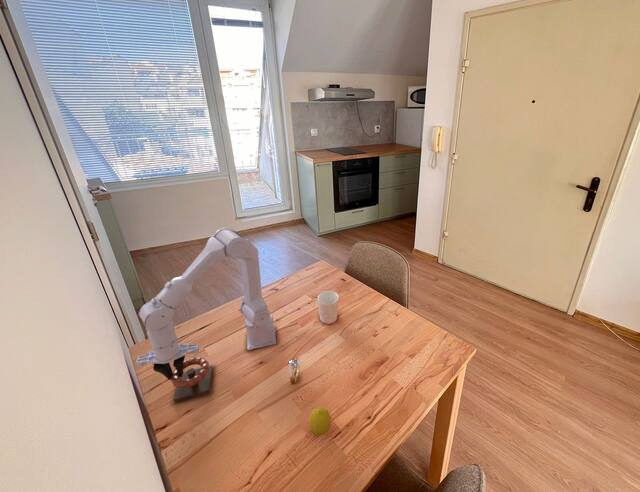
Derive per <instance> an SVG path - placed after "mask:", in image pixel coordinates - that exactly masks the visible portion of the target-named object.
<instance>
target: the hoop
mask: <svg viewBox="0 0 640 492" xmlns="http://www.w3.org/2000/svg"><path fill="white" fill-rule="evenodd" d="M194 365H197V366H200V368H201V371H200V372H199V373H198V375H196V376H195V377H193V378H192V379H188V380H182V379H180V377H179V376H178V373H177V370H176V368H175V367H174V369H173V370H172V372H173V373H172V377H171V380H170V382H171V383H172V385H173V386H174V387H175V388H177V387H179V388H187V387H191V386H194V385H195V384H197V383H198V382H200V381H202V380H203V378H204V377H205V376H206V374H207V373H208V369H209V366H210V363H209V362H208V360H207V359H206V358H205V357H200V356H195V357H190V358H187V359H184V362H183V371H184V370H186V369H187V368H188V367H190V366H194Z"/></svg>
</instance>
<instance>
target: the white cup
mask: <svg viewBox="0 0 640 492" xmlns="http://www.w3.org/2000/svg"><path fill="white" fill-rule="evenodd" d="M317 307H318V313H319V320H320V322H321V323H324V324H327V325H329V324H333V323H334V322H336V320H338V313H339V294H338V293H337V292H336V291H333V290H324V291H322V292H321V293H319V294H318V295H317Z"/></svg>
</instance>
